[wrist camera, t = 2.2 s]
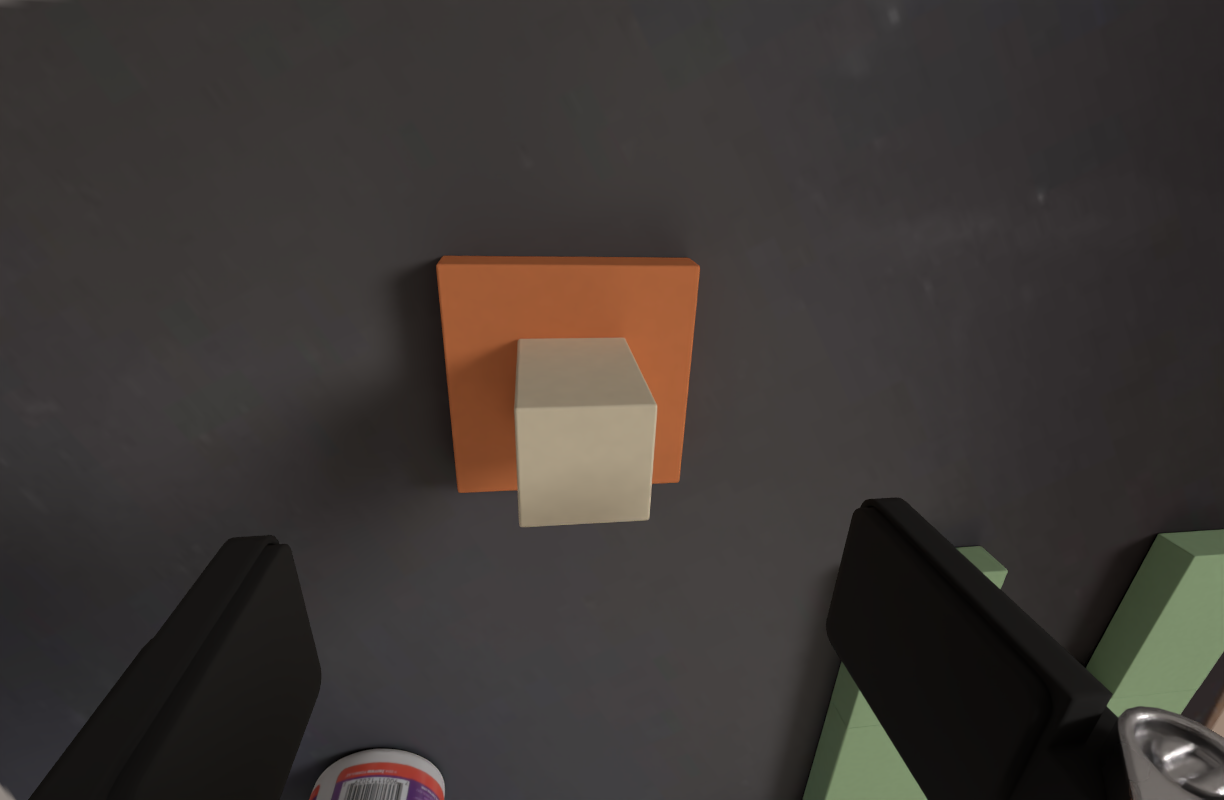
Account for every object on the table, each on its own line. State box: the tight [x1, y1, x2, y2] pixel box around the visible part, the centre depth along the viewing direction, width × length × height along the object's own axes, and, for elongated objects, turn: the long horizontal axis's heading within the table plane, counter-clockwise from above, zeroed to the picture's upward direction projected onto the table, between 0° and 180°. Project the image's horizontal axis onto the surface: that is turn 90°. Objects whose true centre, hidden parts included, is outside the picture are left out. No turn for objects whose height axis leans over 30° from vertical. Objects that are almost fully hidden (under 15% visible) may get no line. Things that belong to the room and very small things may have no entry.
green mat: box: [803, 529, 1224, 800], centre depth 27 cm, size 18×18×2 cm
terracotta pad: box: [436, 256, 700, 527], centre depth 15 cm, size 7×7×6 cm
